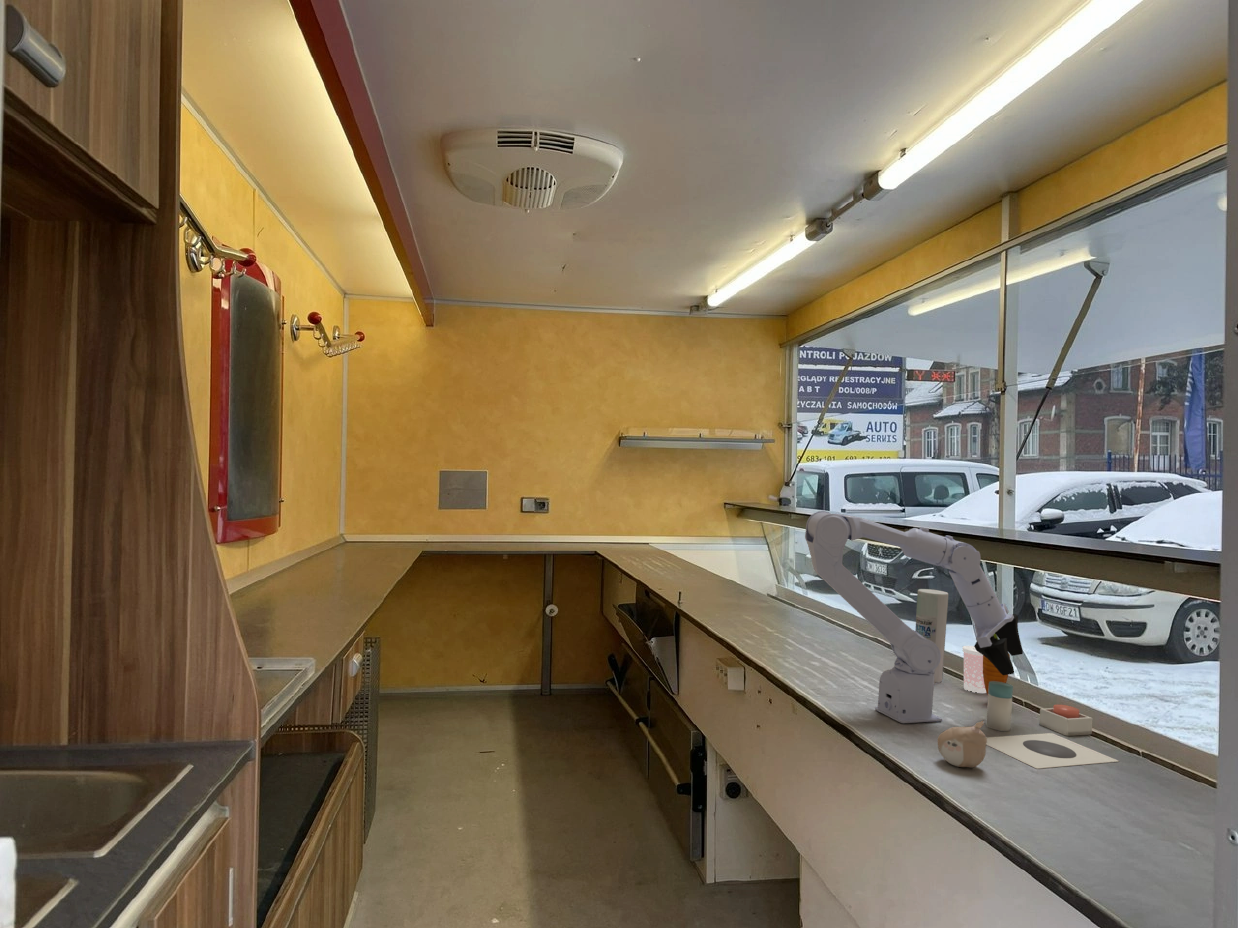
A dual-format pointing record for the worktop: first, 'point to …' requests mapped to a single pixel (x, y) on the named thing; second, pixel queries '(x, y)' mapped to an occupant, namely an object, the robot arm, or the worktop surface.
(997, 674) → the carrot
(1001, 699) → the marker
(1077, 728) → the button housing
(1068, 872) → the worktop surface
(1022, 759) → the paper sheet
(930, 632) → the spray can
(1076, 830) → the worktop surface
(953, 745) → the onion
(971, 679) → the beverage cup
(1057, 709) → the button
